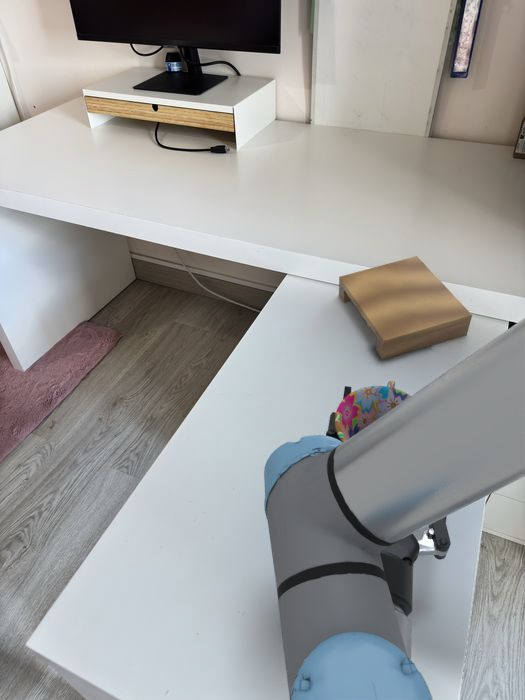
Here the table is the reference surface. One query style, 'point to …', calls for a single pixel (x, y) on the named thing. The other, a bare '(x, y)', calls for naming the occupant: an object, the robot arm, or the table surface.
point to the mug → (366, 408)
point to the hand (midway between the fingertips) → (382, 398)
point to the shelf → (405, 306)
